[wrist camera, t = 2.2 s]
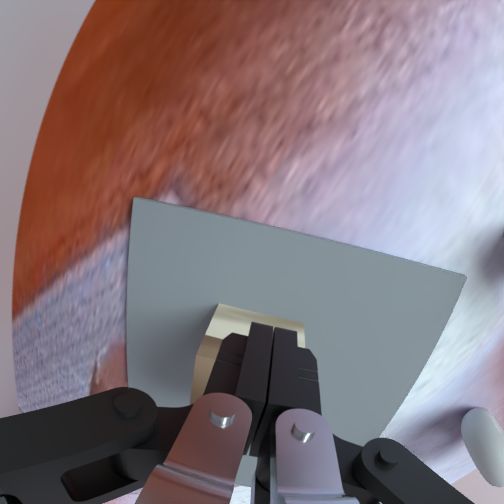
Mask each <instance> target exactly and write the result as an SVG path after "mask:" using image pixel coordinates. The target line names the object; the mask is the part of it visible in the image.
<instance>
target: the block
mask: <svg viewBox="0 0 504 504" xmlns="http://www.w3.org/2000/svg"><path fill="white" fill-rule="evenodd" d="M251 322H257V323H261V324H266V325H270V326H273V330H274V328H275V327H280V328H284V329H289V330H294V331H297V340H298V347H302V348H305V333H304V323H302V322H297V321H293V320H288V319H284V318H279V317H275V316H270V315H266V314H261V313H257V312H253V311H249V310H244V309H240V308H236V307H232V306H228V305H224V304H220V303H219V304H218V307H217V309H216V311H215V313H214V316H213V318H212V320H211V322H210V325H209V327H208V329H207V331H206V334H205V336H204V338H203V340H202V343H201V345H200V347H199V349H198V352H197V354H196V360H195V367H194V374H193V382H192V389H191V397H190V405H191V404H193V403H195V401H196V400H197V399H198V398H200V397H201V396H202V395H203V393H204V391H205V388H206V385H207V383H208V380H209V377H210V374H211V371H212V368H213V365H214V363H215V360H216V357H217V354H218V352H219V348H220V345H221V343H222V340H223V339H224V338H225V337H227V336H228V335H229V334H231V333H232V332H233V333H237V334H241V335H246V336H248V334H249V330H250V326H251Z"/></svg>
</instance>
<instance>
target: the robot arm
mask: <svg viewBox="0 0 504 504" xmlns="http://www.w3.org/2000/svg"><path fill="white" fill-rule="evenodd" d="M317 372H318V367H317V359H316V358H315V356H314V355H313V353H312V352H311V350H310V349H307V348H302V347H298V340H297V331H294V330H289V329H284V328H280V327H275V328H274V330H273V326H270V325H266V324H261V323H257V322H251V326H250V330H249V334H248V336H246V335H241V334H237V333H233V332H232V333H231V334H229V335H228V336H227V337H225V338H224V339H223V340H222V343H221V345H220V348H219V352H218V354H217V357H216V360H215V363H214V365H213V368H212V371H211V374H210V377H209V380H208V383H207V385H206V388H205V391H204V393H203V395H202V396H201V397H200V398H198V399H197V400H196V401H195V403H193V404H191V405H188V406H184V407H157V405H156V403H155V401H154V400H153V399H152V398H151V397H150V396H149V395H148V394H147V393H145V392H143V391H141V390H138V389H135V388H130V387H119V388H114V389H111V390H108V391H104V392H101V393H98V394H94V395H91V396H87V397H84V398H80V399H77V400H73V401H70V402H66V403H62V404H58V405H55V406H51V407H47V408H43V409H39V410H35V411H31V412H26V413H22V414H18V415H13V416H9V417H4V418H0V504H102V503H105V502H108V501H110V500H113V499H115V498H118V497H121V496H123V495H125V494H128V493H130V492H133V491H135V490H137V489H140V488H142V487H143V489H142V491H141V493H140V495H139V496H138V498H137V500H136V502H135V504H229V503H230V500H231V496H232V493H233V488H234V487H233V486H234V482H235V479H236V475H237V472H238V469H239V465H240V462H241V459H242V457H243V455H247V452H248V450H249V447H250V451H249V456H253V457H258V458H257V466H256V470H255V472H254V474H253V476H252V483H251V503H250V504H380V503H379V502H381V503H382V504H474V503H473V502H472V501H470V500H469V499H468V498H467V497H465V496H464V495H463V494H461V493H460V492H459V491H458V490H456V489H455V488H454V487H452V486H451V485H450V484H449V483H448V482H446V481H445V480H444V479H443V478H441V477H440V476H439V475H438V474H436V473H435V472H434V471H433V470H431V469H430V468H429V467H428V466H427V465H425V464H424V463H423V462H422V461H421V460H419V459H418V458H417V457H416V456H415V455H413V454H412V453H411V452H410V451H409V450H407V449H406V448H405V447H404V446H403V445H401V444H400V443H398V442H396V441H394V440H392V439H388V438H375V439H372V440H370V441H368V442H367V443H366V444H365V445H364V447H363V446H360V445H357V444H354V443H351V442H348V441H345V440H343V439H341V438H339V437H337V436H335V435H334V434H333V433H332V429H331V427H330V425H329V423H328V422H327V420H325V419H324V418H323V417H322V412H321V400H320V389H319V382H318V380H319V378H318V373H317Z"/></svg>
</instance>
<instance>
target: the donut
mask: <svg viewBox="0 0 504 504" xmlns="http://www.w3.org/2000/svg"><path fill="white" fill-rule="evenodd" d="M461 434H462V438H463V440H464V443H465V445H466V448H467V450H468V452H469V454H470V456H471V458H472V460H473V461H474V463H475V465H476V467H477V468H478V470H479V471H480V473H481V474H482V476H483V477H484V478H485V480H486V481H487V482H488V483H489V484H491V485H492V486H497V487H502V486H504V431H503V430H502V428H501V427H500V425H499V424H498V422H497V421H496V419H495V418H494V417H493V415H492V414H491V413H490V412H489V411H488V410H487V409H485V408H482V407H477V408H473V409H471V410H470V411H468V412H467V413H466V414H465V416H464V418H463V419H462V423H461Z"/></svg>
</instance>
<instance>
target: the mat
mask: <svg viewBox="0 0 504 504" xmlns="http://www.w3.org/2000/svg"><path fill="white" fill-rule="evenodd" d="M466 279H467V277H466V276H465V275H462V274H459V273H455V272H452V271H448V270H444V269H441V268H437V267H433V266H430V265H426V264H422V263H419V262H415V261H411V260H407V259H404V258H400V257H396V256H392V255H388V254H385V253H381V252H377V251H373V250H369V249H365V248H361V247H357V246H353V245H349V244H345V243H341V242H337V241H333V240H329V239H325V238H321V237H317V236H313V235H308V234H304V233H300V232H296V231H292V230H287V229H283V228H279V227H275V226H270V225H266V224H262V223H257V222H253V221H249V220H244V219H240V218H235V217H231V216H226V215H222V214H217V213H213V212H208V211H203V210H199V209H194V208H189V207H185V206H180V205H175V204H170V203H166V202H161V201H156V200H151V199H146V198H141V197H135V198H133V207H132V218H131V229H130V242H129V257H128V276H127V312H126V338H127V374H128V387H130V388H135V389H138V390H141V391H143V392H145V393H147V394H148V395H149V396H150V397H151V398H152V399H153V400H154V401H155V403H156V405H157V407H184V406H188V405H190V397H191V389H192V382H193V374H194V367H195V360H196V354H197V352H198V349H199V347H200V345H201V343H202V340H203V338H204V336H205V334H206V331H207V329H208V327H209V325H210V322H211V320H212V318H213V316H214V313H215V311H216V309H217V307H218V304H219V303H220V304H224V305H228V306H232V307H236V308H240V309H244V310H249V311H253V312H257V313H261V314H266V315H270V316H275V317H279V318H284V319H288V320H293V321H297V322H302V323H304V333H305V348H307V349H310V350H311V352H312V353H313V355H314V356H315V358H316V359H317V367H318V372H317V373H318V378H319V380H318V382H319V389H320V400H321V412H322V417H323V418H324V419H325V420H327V422H328V423H329V425H330V427H331V429H332V433H333V434H334V435H335V436H337V437H339V438H341V439H343V440H345V441H348V442H351V443H354V444H357V445H360V446H363V447H364V445H365V444H366V443H367V442H368V441H370V440H372V439H375V438H378V437H379V436H380V435H381V433H382V432H383V431H384V429H385V428H386V426H387V425H388V424H389V422H390V421H391V419H392V418H393V416H394V415H395V413H396V412H397V410H398V409H399V407H400V406H401V404H402V403H403V401H404V400H405V398H406V396H407V395H408V393H409V392H410V390H411V388H412V387H413V385H414V383H415V382H416V380H417V378H418V377H419V375H420V373H421V372H422V370H423V368H424V366H425V364H426V363H427V361H428V359H429V357H430V355H431V354H432V352H433V350H434V348H435V346H436V344H437V342H438V340H439V338H440V336H441V334H442V332H443V330H444V328H445V326H446V324H447V322H448V320H449V318H450V316H451V314H452V311H453V309H454V307H455V305H456V302H457V300H458V298H459V296H460V293H461V291H462V288H463V286H464V284H465V281H466ZM249 451H250V447H249V450H248V452H247V455H243V457H242V459H241V462H240V465H239V469H238V472H237V475H236V479H235V482H234V484H237V485H242V486H247V487H251V483H252V476H253V474H254V472H255V470H256V466H257V458H258V457H253V456H249Z"/></svg>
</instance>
